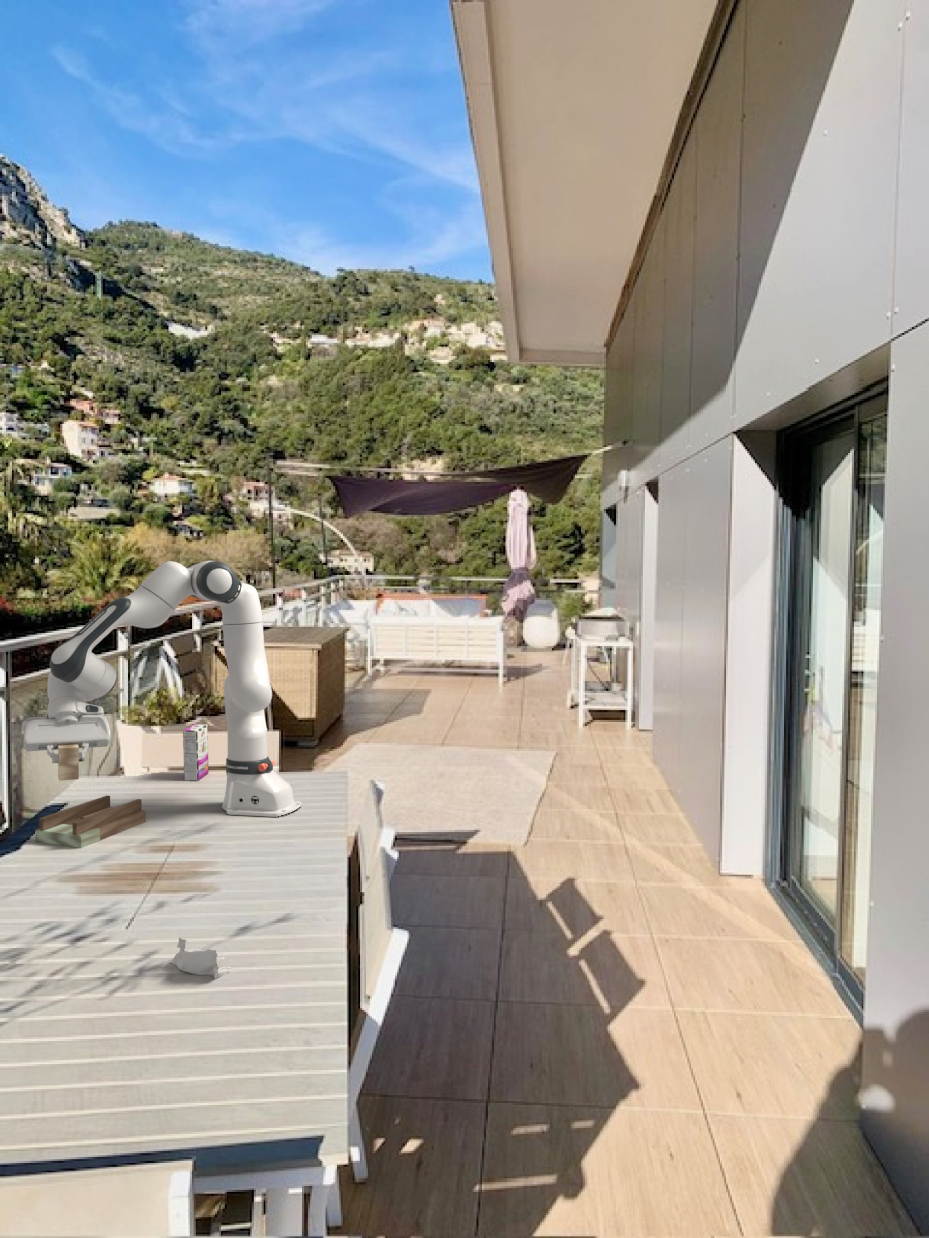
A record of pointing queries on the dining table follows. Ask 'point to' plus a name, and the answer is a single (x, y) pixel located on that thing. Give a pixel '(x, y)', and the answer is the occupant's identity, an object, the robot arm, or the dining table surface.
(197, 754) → the candy bar box
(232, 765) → the robot arm
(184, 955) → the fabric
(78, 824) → the channel deck
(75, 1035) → the dining table surface
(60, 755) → the beech block
